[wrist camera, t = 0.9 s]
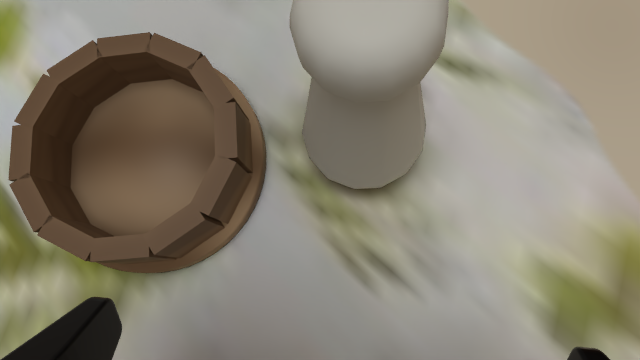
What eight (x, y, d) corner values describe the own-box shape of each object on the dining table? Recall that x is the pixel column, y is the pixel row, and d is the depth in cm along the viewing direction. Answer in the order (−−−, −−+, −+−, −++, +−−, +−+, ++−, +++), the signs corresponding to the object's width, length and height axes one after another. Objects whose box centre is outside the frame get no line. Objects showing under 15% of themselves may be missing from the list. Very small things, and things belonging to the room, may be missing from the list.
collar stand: (272, 263, 23) (253, 259, 19) (53, 281, 24) (-10, 282, 20) (260, 54, 26) (242, 11, 22) (63, 76, 26) (9, 39, 22)
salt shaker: (291, 172, 24) (215, 53, 11) (333, 78, 25) (306, -129, 12) (395, 214, 23) (439, 136, 10) (435, 115, 24) (519, -68, 11)
